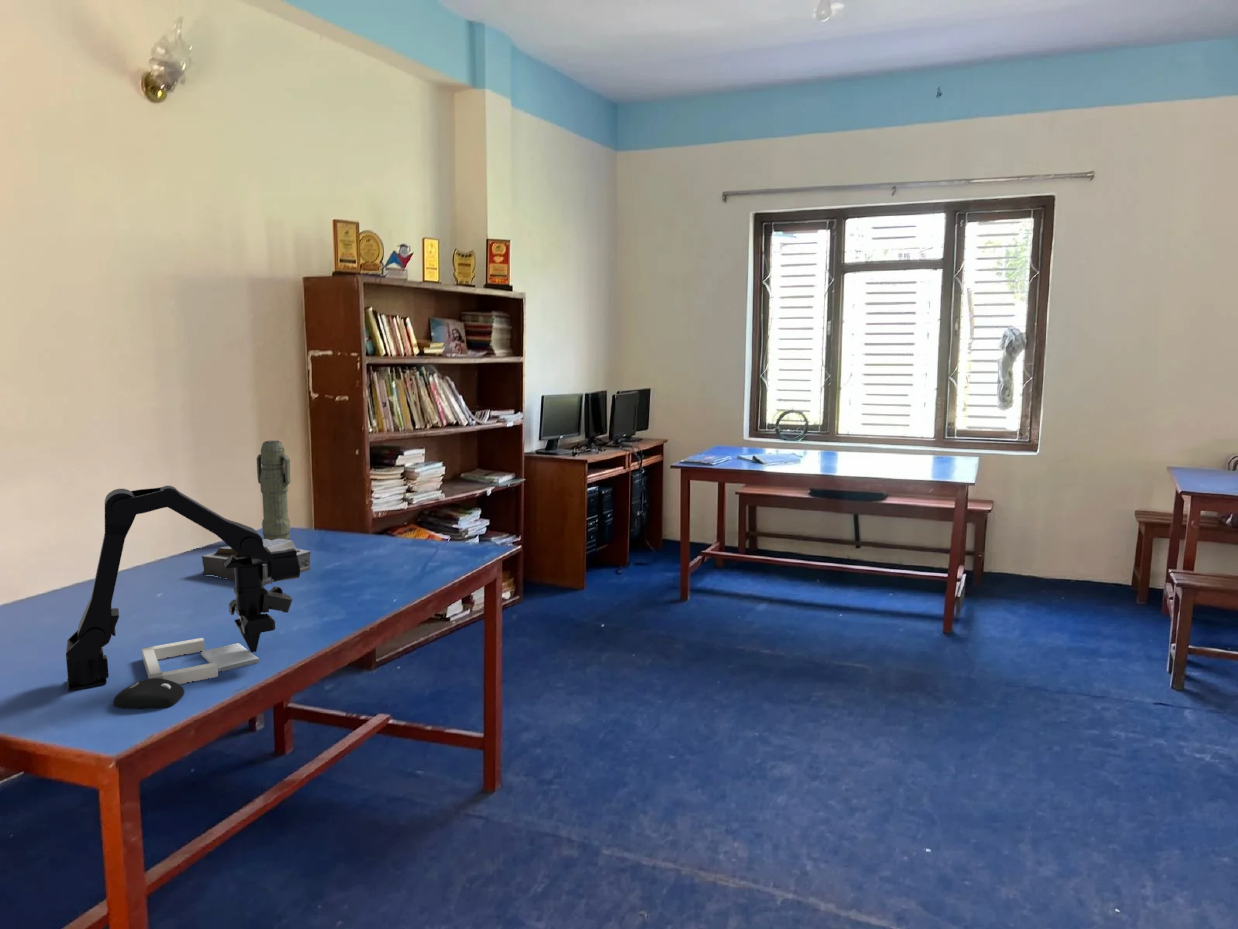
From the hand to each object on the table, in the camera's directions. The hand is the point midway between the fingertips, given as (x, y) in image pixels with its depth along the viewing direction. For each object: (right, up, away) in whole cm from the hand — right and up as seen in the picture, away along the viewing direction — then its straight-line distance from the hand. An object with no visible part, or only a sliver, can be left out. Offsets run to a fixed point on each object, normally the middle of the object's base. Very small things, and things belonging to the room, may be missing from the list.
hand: (253, 651), depth 181 cm
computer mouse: (-9, -4, -24) cm, 26 cm away
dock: (-12, -1, -8) cm, 15 cm away
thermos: (-38, +15, +103) cm, 111 cm away
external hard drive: (-4, -2, -3) cm, 5 cm away
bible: (-27, +9, +63) cm, 70 cm away
